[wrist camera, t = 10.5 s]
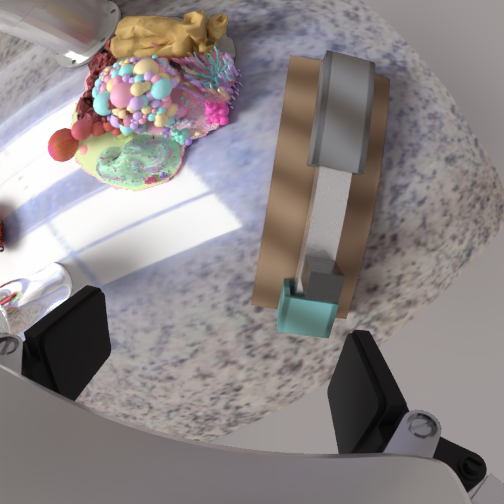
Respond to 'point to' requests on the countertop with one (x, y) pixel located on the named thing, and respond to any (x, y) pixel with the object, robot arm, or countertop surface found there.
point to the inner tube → (323, 237)
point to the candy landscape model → (150, 99)
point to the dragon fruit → (1, 237)
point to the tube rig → (302, 176)
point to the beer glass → (31, 298)
